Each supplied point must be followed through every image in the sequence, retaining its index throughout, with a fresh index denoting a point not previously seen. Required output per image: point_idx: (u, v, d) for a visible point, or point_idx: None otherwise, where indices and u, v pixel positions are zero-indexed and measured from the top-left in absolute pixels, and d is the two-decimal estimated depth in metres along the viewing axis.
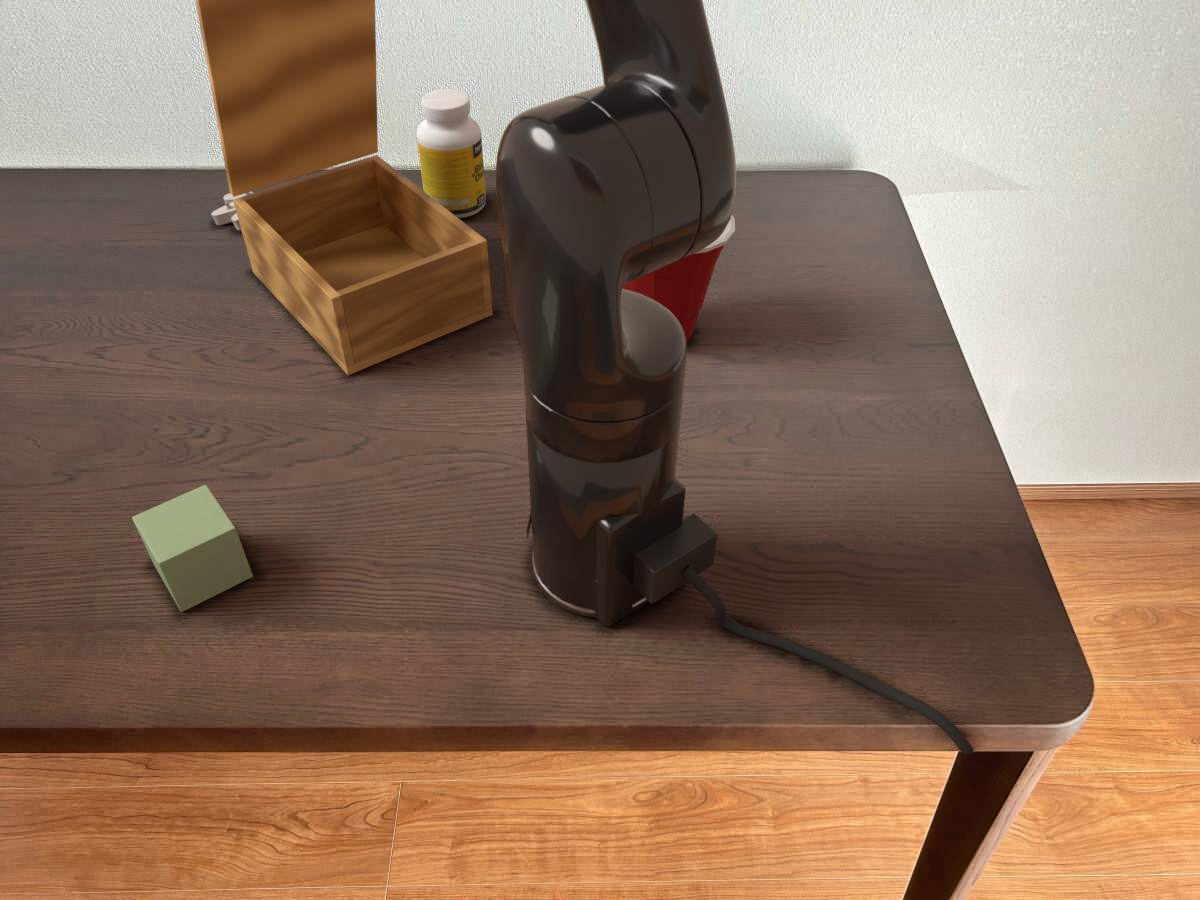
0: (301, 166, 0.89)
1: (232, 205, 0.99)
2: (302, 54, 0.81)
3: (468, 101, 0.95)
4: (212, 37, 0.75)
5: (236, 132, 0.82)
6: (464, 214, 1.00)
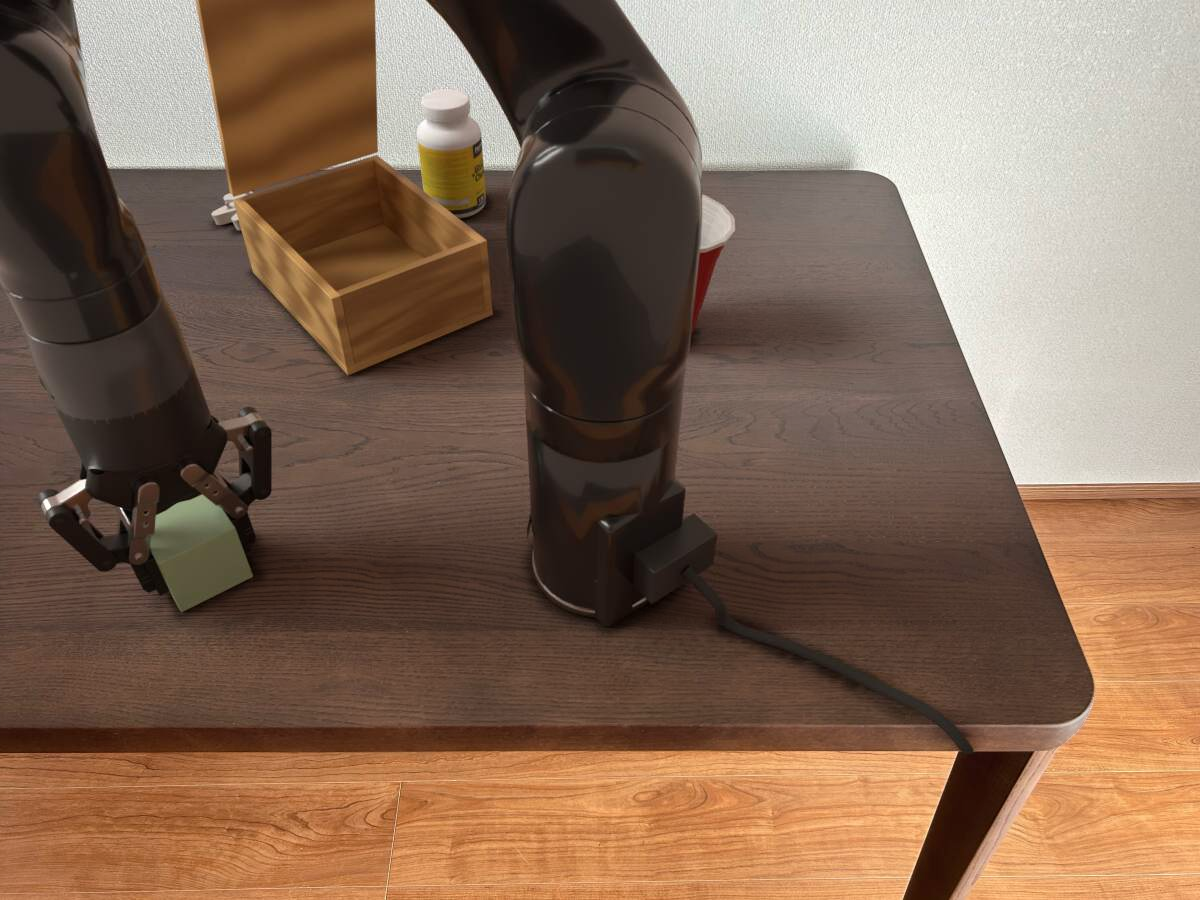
0: (301, 166, 0.89)
1: (232, 205, 0.99)
2: (302, 54, 0.81)
3: (468, 101, 0.95)
4: (212, 37, 0.75)
5: (236, 132, 0.82)
6: (464, 214, 1.00)
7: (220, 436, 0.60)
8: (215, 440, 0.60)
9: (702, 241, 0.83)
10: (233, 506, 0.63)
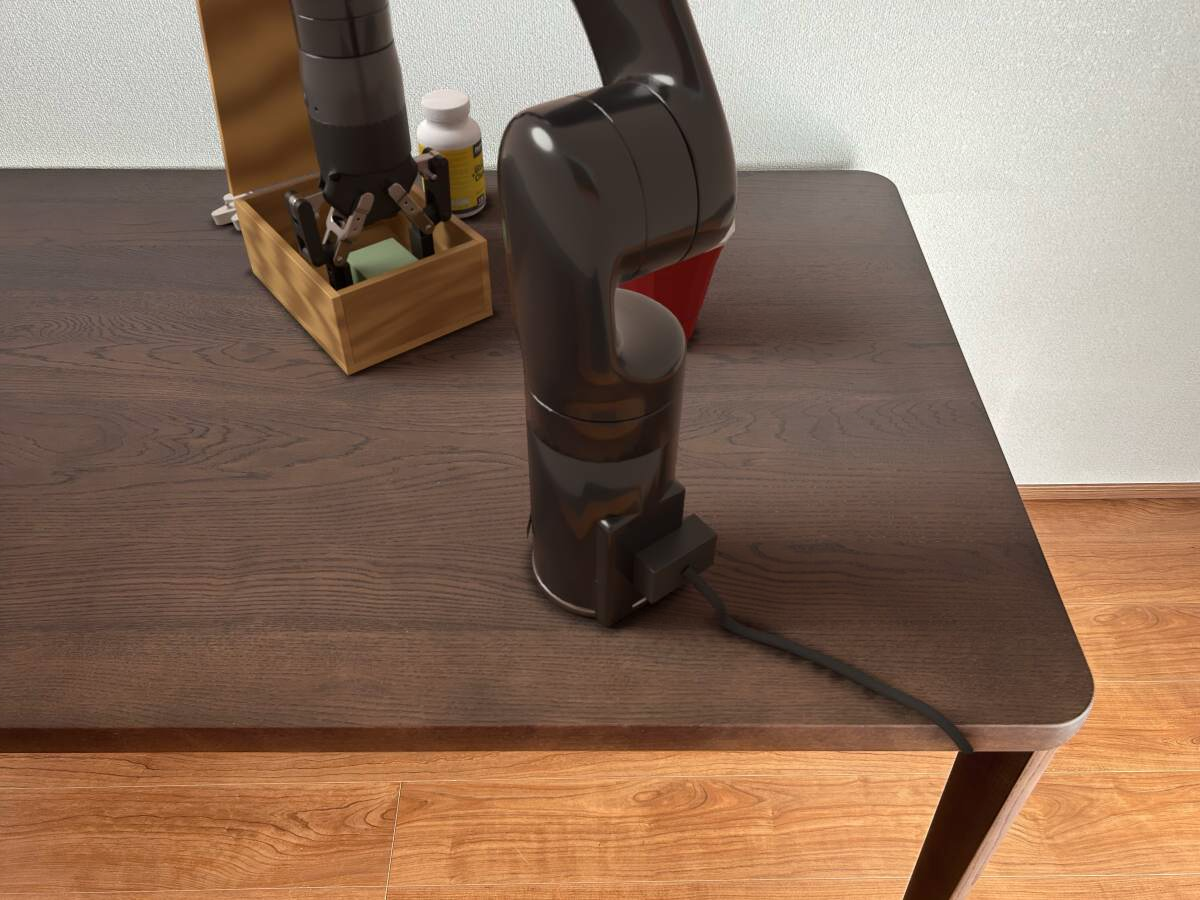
0: (301, 166, 0.89)
1: (232, 205, 0.99)
2: None
3: (468, 101, 0.95)
4: (212, 37, 0.75)
5: (236, 132, 0.82)
6: (464, 214, 1.00)
7: (413, 165, 0.80)
8: (410, 169, 0.80)
9: None
10: (424, 224, 0.84)
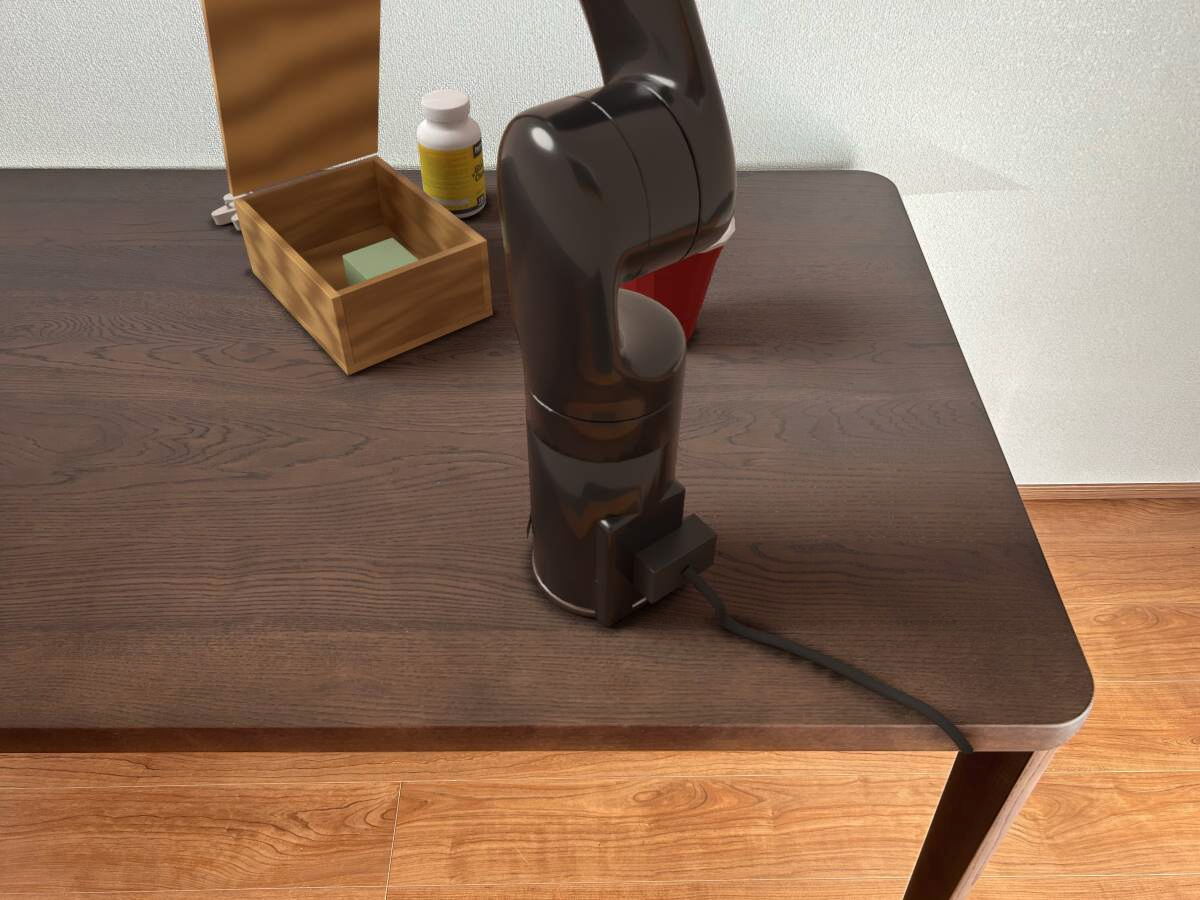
0: (301, 167, 0.89)
1: (232, 205, 0.99)
2: (306, 60, 0.80)
3: (468, 101, 0.95)
4: (218, 45, 0.74)
5: (238, 136, 0.82)
6: (464, 214, 1.00)
7: None
8: None
9: None
10: None
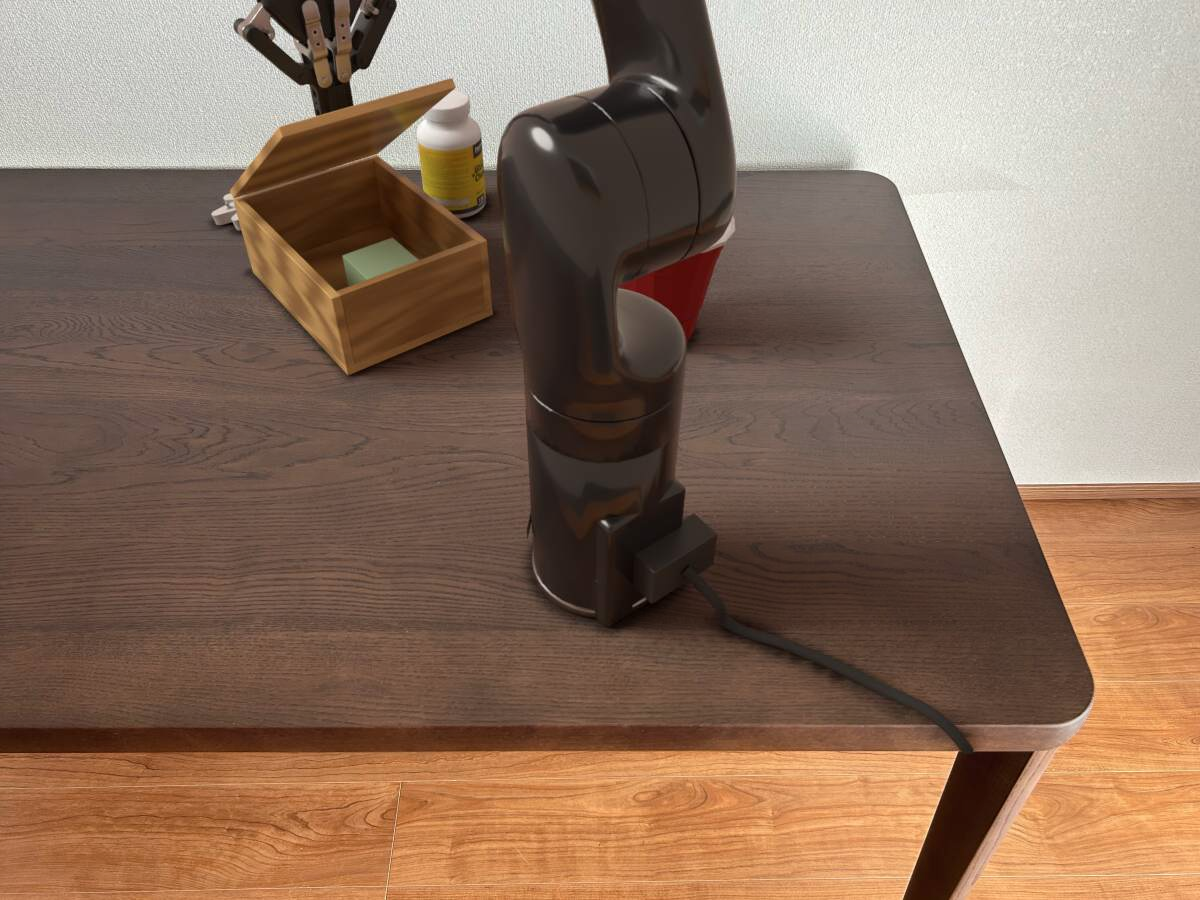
0: (305, 174, 0.89)
1: (232, 205, 0.99)
2: (349, 138, 0.80)
3: (468, 101, 0.95)
4: (276, 152, 0.74)
5: (260, 177, 0.82)
6: (464, 214, 1.00)
7: None
8: None
9: None
10: (343, 67, 0.76)
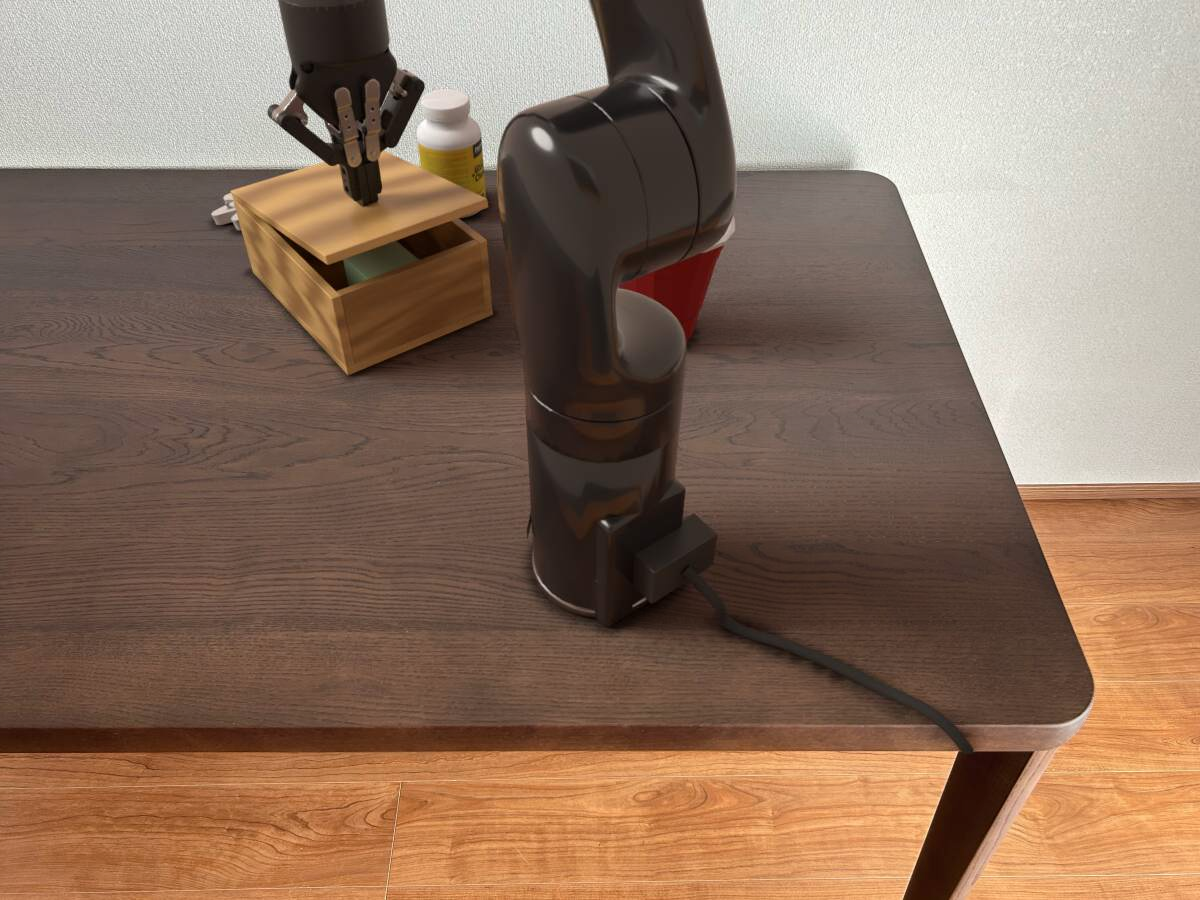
0: None
1: (232, 205, 0.99)
2: None
3: (468, 101, 0.95)
4: None
5: None
6: None
7: (394, 67, 0.75)
8: (390, 67, 0.75)
9: None
10: (372, 147, 0.78)
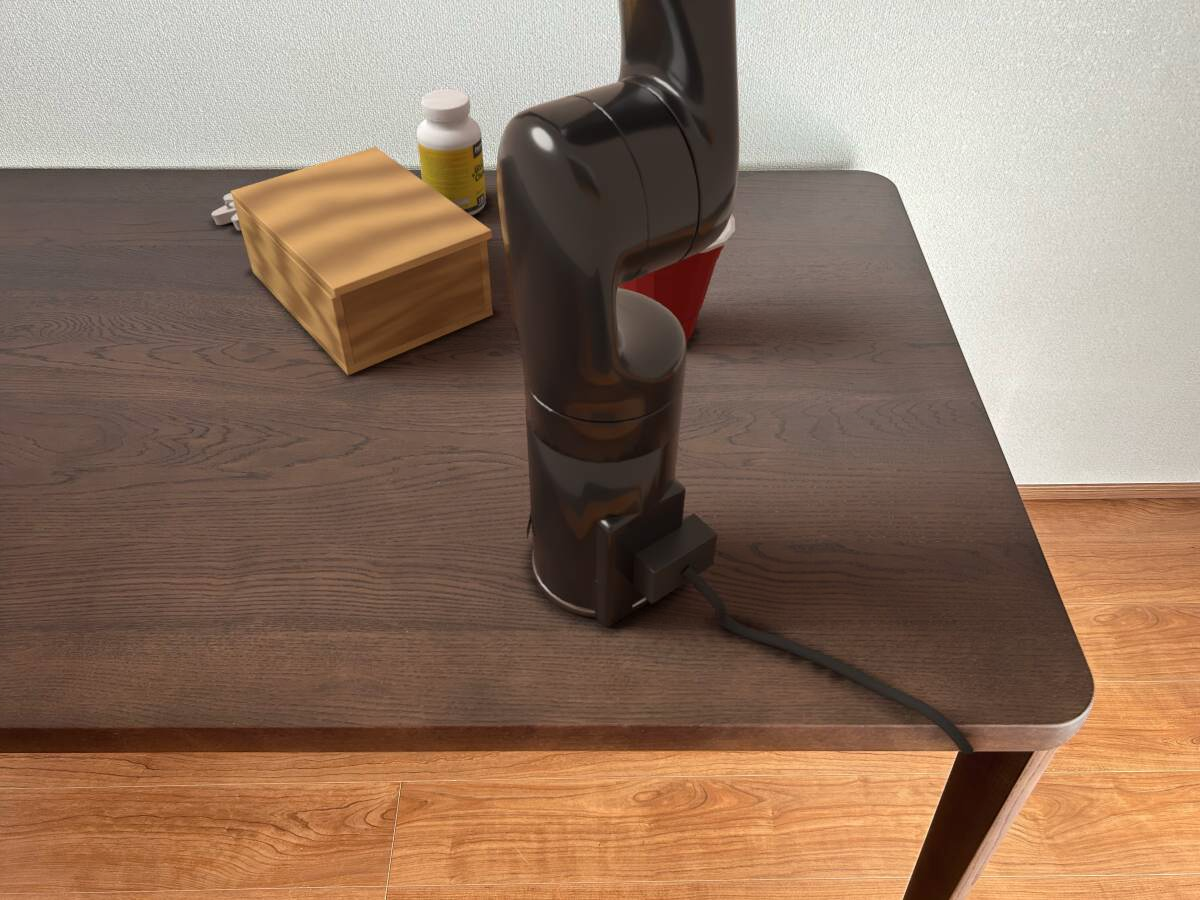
0: None
1: (232, 205, 0.99)
2: None
3: (468, 101, 0.95)
4: None
5: None
6: None
7: None
8: None
9: None
10: None
